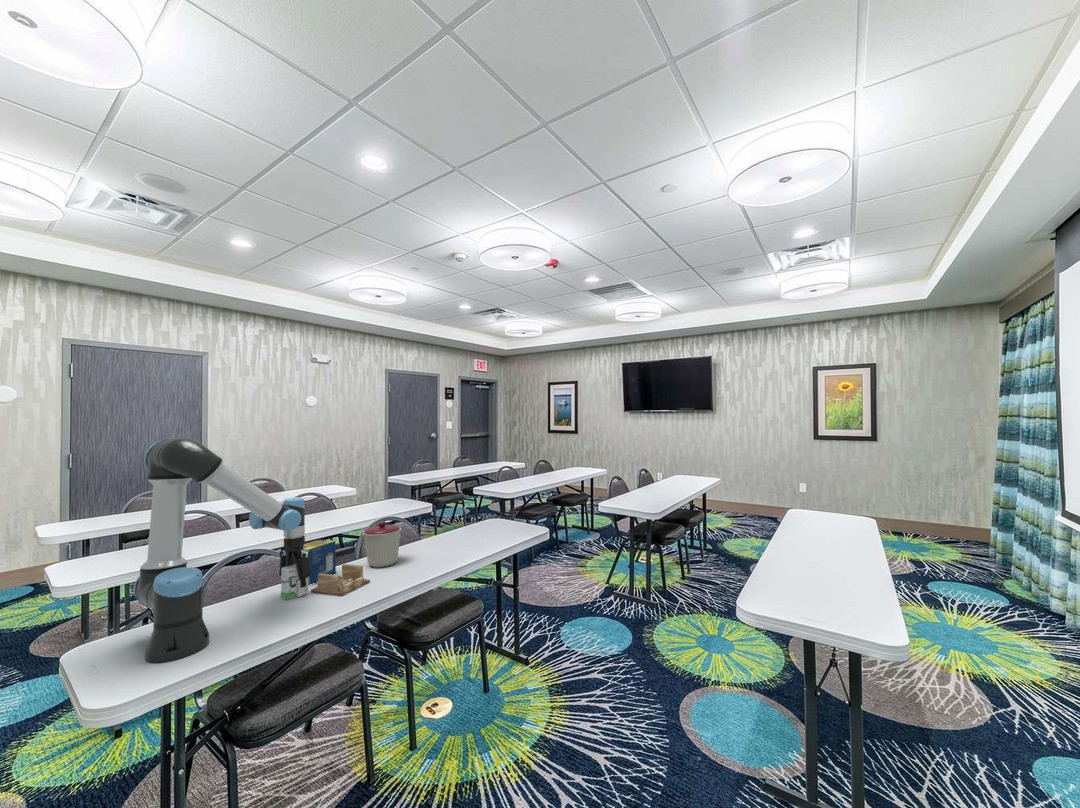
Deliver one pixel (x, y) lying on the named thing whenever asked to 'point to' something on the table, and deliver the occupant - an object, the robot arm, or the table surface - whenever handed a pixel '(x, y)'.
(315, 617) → the table surface
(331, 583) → the peg frame
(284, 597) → the ink box
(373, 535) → the canister
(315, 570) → the protein box
